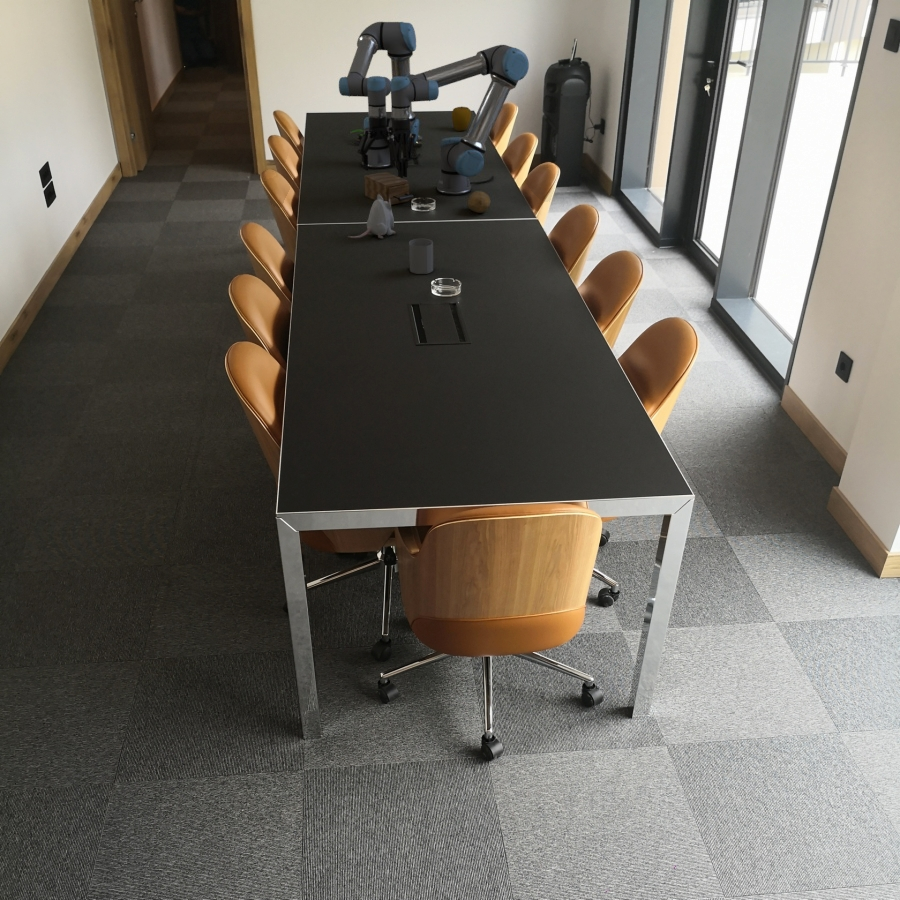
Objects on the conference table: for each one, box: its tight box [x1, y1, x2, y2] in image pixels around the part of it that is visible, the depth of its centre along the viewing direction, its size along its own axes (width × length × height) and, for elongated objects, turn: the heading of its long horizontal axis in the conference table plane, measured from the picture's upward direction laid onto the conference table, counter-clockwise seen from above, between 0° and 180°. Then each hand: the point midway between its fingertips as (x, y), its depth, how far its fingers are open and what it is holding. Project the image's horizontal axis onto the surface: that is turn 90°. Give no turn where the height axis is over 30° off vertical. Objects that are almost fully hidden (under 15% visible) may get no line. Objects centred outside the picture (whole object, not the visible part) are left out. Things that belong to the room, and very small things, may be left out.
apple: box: [451, 105, 472, 132], centre depth 487 cm, size 11×11×13 cm
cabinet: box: [363, 171, 409, 206], centre depth 378 cm, size 18×11×9 cm, turn 36°
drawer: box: [388, 183, 414, 205], centre depth 375 cm, size 22×10×7 cm, turn 36°
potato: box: [467, 190, 491, 214], centre depth 363 cm, size 10×14×8 cm
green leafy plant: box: [348, 128, 364, 146], centre depth 466 cm, size 6×13×30 cm
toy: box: [347, 194, 396, 240], centre depth 332 cm, size 9×24×15 cm, turn 137°
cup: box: [408, 237, 434, 275], centre depth 305 cm, size 8×8×10 cm
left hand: (379, 167), depth 377 cm, fingers open, 13 cm apart
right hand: (402, 176), depth 365 cm, fingers closed
